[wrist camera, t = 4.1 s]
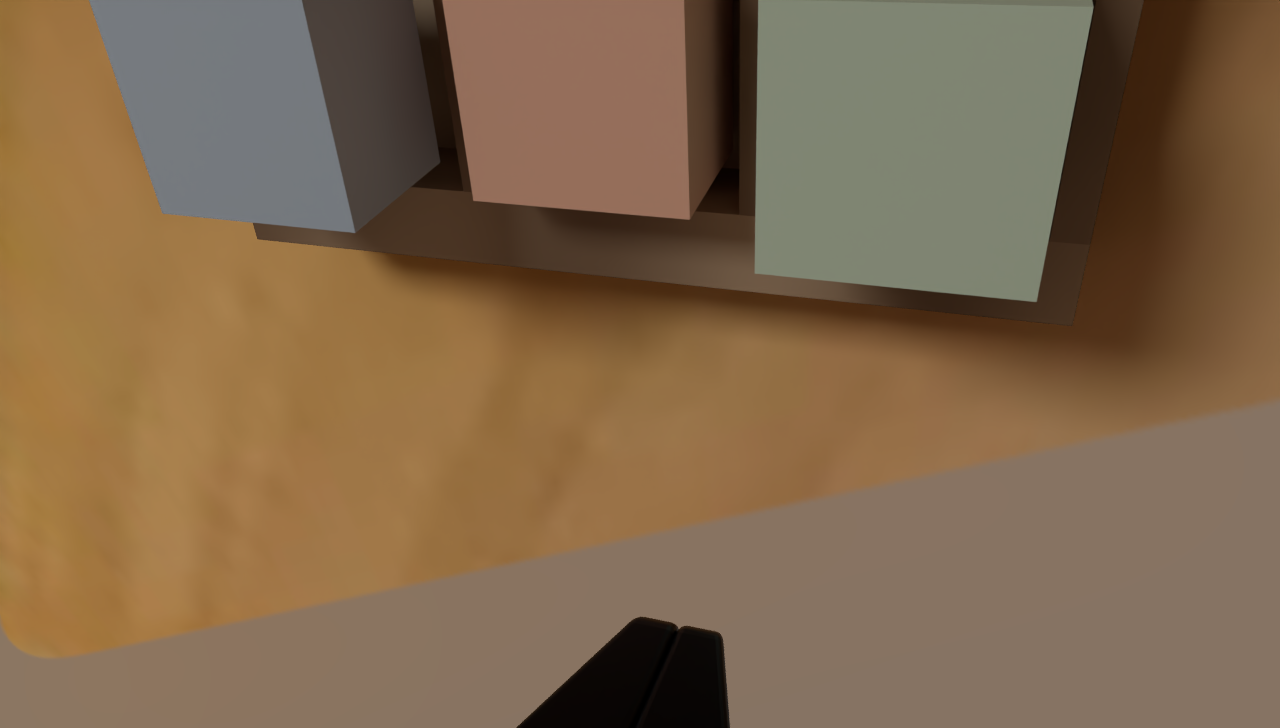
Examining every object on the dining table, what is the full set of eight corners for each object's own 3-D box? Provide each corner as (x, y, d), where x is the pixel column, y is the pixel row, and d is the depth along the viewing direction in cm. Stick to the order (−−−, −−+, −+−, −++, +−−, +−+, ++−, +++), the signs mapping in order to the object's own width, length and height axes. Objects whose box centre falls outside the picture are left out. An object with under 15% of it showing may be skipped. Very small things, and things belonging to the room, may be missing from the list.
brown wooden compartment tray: (1171, -247, 14) (1195, -234, 12) (1067, 257, 19) (1072, 326, 17) (225, -208, 19) (131, -195, 17) (322, 191, 23) (257, 239, 21)
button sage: (1080, -50, 14) (1094, 6, 11) (1034, 207, 16) (1036, 302, 13) (801, -53, 15) (758, -1, 12) (792, 189, 17) (755, 273, 14)
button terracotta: (732, -73, 16) (683, -32, 14) (732, 150, 18) (689, 220, 16) (517, -75, 17) (436, -36, 15) (540, 137, 19) (473, 200, 17)
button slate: (403, -56, 16) (299, -12, 14) (440, 162, 18) (355, 232, 16) (210, -58, 17) (82, -17, 15) (266, 148, 20) (162, 213, 17)
